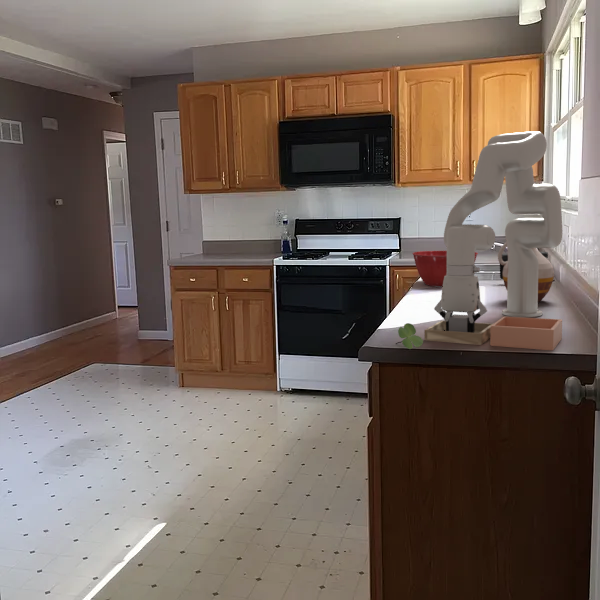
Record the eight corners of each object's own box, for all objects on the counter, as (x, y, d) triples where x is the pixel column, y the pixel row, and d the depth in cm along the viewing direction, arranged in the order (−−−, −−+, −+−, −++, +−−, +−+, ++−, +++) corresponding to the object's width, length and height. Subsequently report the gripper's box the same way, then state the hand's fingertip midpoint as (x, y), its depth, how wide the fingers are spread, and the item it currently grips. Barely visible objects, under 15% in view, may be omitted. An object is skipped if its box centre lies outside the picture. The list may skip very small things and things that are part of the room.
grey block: (453, 335, 188) (453, 314, 187) (471, 336, 185) (471, 315, 185) (448, 338, 183) (448, 317, 183) (466, 339, 181) (466, 318, 180)
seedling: (406, 362, 177) (421, 353, 171) (382, 348, 175) (395, 339, 170) (411, 341, 181) (425, 332, 176) (388, 327, 179) (401, 317, 174)
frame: (441, 330, 195) (441, 320, 195) (494, 334, 187) (494, 323, 187) (424, 340, 182) (424, 330, 181) (481, 344, 174) (481, 333, 174)
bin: (503, 334, 186) (503, 316, 186) (561, 338, 179) (562, 319, 178) (490, 345, 173) (490, 325, 172) (553, 350, 165) (553, 329, 164)
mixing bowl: (482, 283, 300) (482, 250, 297) (471, 292, 274) (471, 255, 272) (421, 282, 311) (421, 250, 309) (405, 290, 285) (405, 254, 283)
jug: (497, 306, 236) (498, 222, 231) (496, 299, 253) (497, 220, 248) (555, 306, 230) (558, 221, 226) (550, 299, 247) (552, 219, 243)
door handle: (548, 286, 281) (548, 249, 279) (500, 288, 286) (499, 251, 284) (547, 285, 284) (547, 248, 282) (499, 287, 289) (498, 251, 287)
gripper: (494, 270, 181) (493, 335, 183) (434, 269, 189) (434, 331, 192) (488, 273, 174) (487, 340, 177) (426, 271, 183) (426, 335, 185)
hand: (460, 334), depth 184 cm, fingers closed on grey block, 5 cm apart
